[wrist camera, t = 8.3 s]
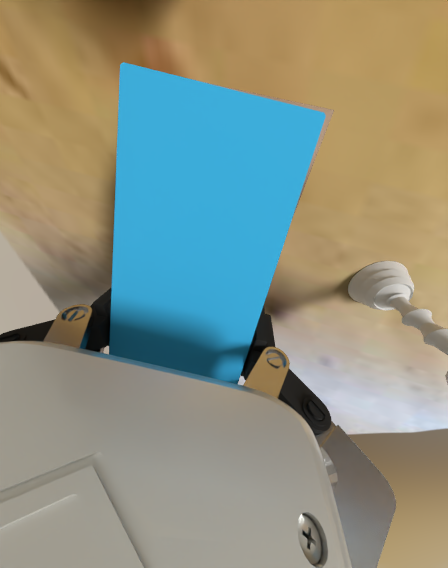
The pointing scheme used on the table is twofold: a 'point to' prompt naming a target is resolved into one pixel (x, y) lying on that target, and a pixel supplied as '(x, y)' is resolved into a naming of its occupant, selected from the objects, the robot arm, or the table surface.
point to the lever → (200, 217)
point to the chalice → (396, 299)
